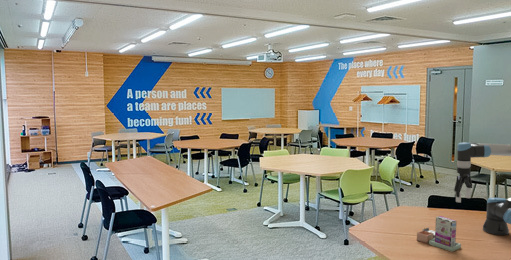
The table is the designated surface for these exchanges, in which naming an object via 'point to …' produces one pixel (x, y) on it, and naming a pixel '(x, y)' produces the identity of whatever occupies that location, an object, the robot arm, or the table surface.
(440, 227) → the candy bar box
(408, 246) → the table surface
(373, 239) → the table surface
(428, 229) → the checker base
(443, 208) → the table surface
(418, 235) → the terracotta square pot
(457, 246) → the pale green shallow tray
